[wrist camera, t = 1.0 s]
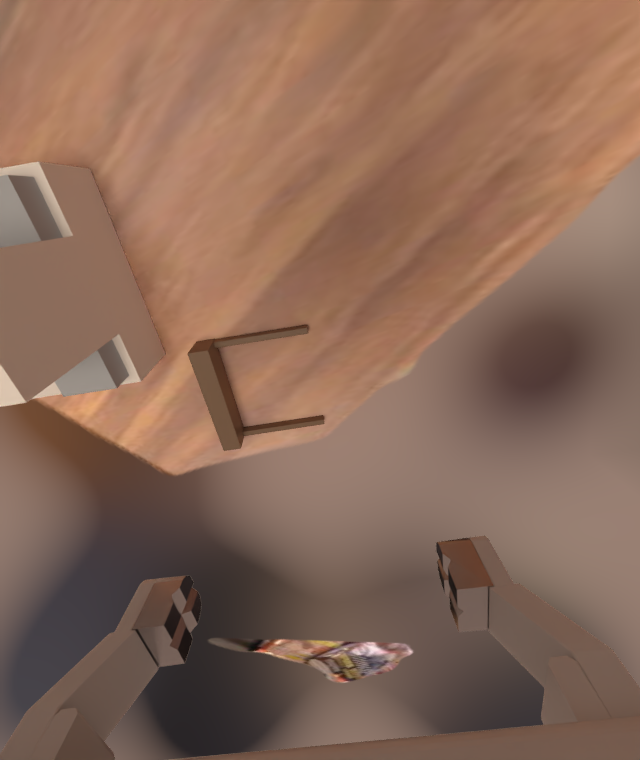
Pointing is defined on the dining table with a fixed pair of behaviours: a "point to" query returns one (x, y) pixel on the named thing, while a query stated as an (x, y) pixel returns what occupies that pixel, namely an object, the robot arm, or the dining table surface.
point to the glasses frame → (220, 393)
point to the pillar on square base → (66, 290)
